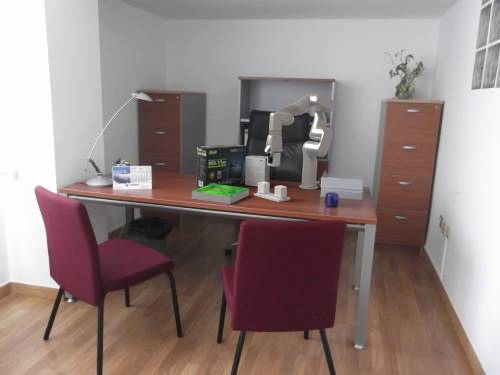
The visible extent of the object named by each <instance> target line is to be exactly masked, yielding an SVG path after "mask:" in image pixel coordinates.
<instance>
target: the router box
mask: <svg viewBox="0 0 500 375" xmlns="http://www.w3.org/2000/svg"><path fill="white" fill-rule="evenodd" d="M196 149H197V151H196V182H195V183H196V187H197V188H202V187H205V186H208V185H211V184H218V185H226V186H236V185H242V184H244V185H245V156H247V146H246V145H243V144H227V145H226V144H225V145H222V144H221V145H206V146H197V147H196Z"/></svg>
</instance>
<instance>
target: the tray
mask: <svg viewBox="0 0 500 375" xmlns="http://www.w3.org/2000/svg"><path fill="white" fill-rule="evenodd" d="M249 192H250V189H249V187H241V186H235V185H230V186H226V185H218V184H211V185H208V186H205V187H202V188H200V187H198V188H196V189H193V190H191V199H192V200H199V201H206V202H211V203H212V202H213V203H217V204H218V203H219V204H226V205H231V203H232V204H234V203H235V202H238V201H240V200H242V199H244V198H247V197H248V196H249ZM233 202H234V203H233Z"/></svg>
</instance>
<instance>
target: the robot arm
mask: <svg viewBox="0 0 500 375" xmlns="http://www.w3.org/2000/svg"><path fill="white" fill-rule="evenodd" d="M309 109H311V110H312V112H313V113H312V114H313V122H312V124H311V126H310V127H311V128H310V129H309V130H310V131H309V134H308V136H309V138H310V139H311V140H312V141H311V140H307V141H305V142H304V143H303V144H302V148H301V149H302V172H301V184H300V185H299V186H298V188H301V189H303V190H317V189H318V188H319V187H318V185H319V184H320V183H321V182H320V180H317V170H318V159H317V157H319V158H323V157H326V155H327V154H328V151H329V149H330V145H331V143H332V140H333V130H332V128H331V127H329V126H326V125H327V116H326V113H332V112H334V111H335V109H336V102H335V101H334V99H332V98H330V97H328V96H326V95H324V94H323V93H307V94H305V95H304V96H302V97H301V98H299V99H298V100H297V101H295V102H293V103H290V104H288V105H285V106H283V107H281V108H279V109H278V110H277V111H274V112H270V114H269V124H268V125H269V126H268V127H269V128H268V135H267V137H266V143H265V149H264V152H265V153H264V154H266V155H267V156H266V157H268V163H270V164H272V154H273V152H277V153H281V154H280V156H281V155H282V153H283V151H284V149H283V136H282V133H283V132H282V129H283V128H282V127H283V126H290V125H292V124H293V123H294V121H295V117H294V116H296V117H297V116H301V115H304V114H305V113H306V112H307V111H308V110H309ZM270 153H271V154H270Z"/></svg>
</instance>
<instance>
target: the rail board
mask: <svg viewBox="0 0 500 375" xmlns="http://www.w3.org/2000/svg"><path fill="white" fill-rule="evenodd" d="M270 187H271V186H270V182H269V183H268V182H258V186H257V192H256V193H253V197H258V198H263V199H265V200H269V201H273V202H278V203H281V202H285V201H291V197H289V196H287V194H288V193H287V192H288V190H287V189H288V187H287V186H285V185H275V186H274V193H273V192H270Z"/></svg>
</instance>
